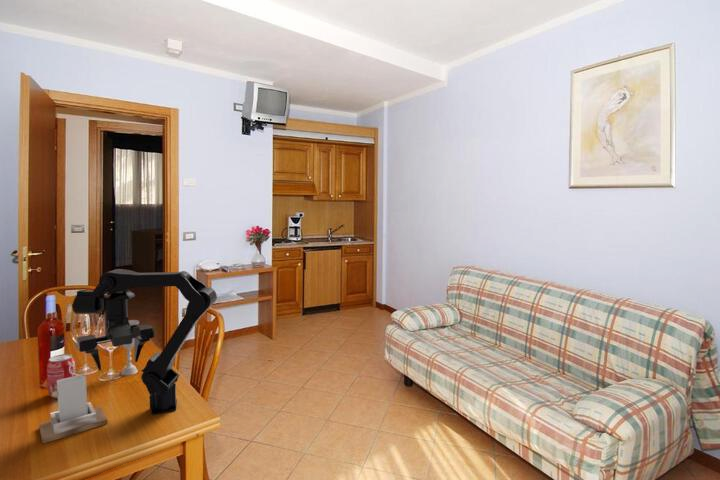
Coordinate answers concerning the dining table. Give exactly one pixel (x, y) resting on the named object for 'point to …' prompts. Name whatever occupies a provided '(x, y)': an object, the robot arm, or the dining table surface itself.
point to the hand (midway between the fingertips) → (118, 365)
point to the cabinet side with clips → (71, 424)
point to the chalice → (130, 368)
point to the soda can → (59, 371)
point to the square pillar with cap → (71, 397)
